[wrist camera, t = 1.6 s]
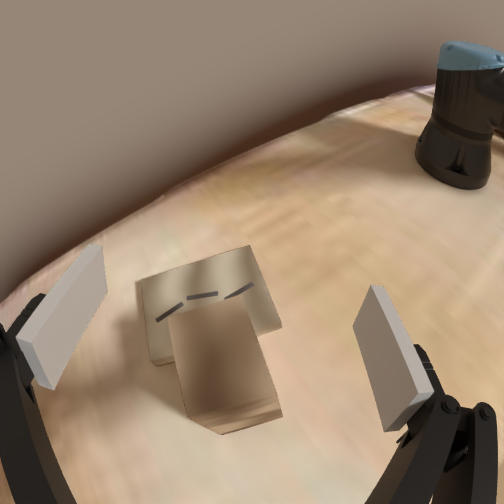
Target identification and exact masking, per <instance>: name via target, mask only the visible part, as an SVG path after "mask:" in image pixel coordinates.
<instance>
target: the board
mask: <svg viewBox="0 0 504 504" xmlns="http://www.w3.org/2000/svg"><path fill="white" fill-rule="evenodd" d="M141 284H142V295H143V305H144V314H145V323H146V331H147V339H148V346H149V353H150V360H151V362H152V363H153V364H154V365H156V366H159V365H163V364H166V363H170V362H174V361H175V358H174V353H173V348H172V342H171V337H170V331H169V325H168V320H167V317H170V316H173V315H177V314H180V313H183V312H186V311H190V310H193V309H196V308H199V307H203V306H206V305H209V304H212V303H215V302H218V301H222V300H225V299H228V298H231V297H234V296H237V295H240V294H242V296H243V299H244V302H245V305H246V308H247V311H248V314H249V316H250V319H251V322H252V325H253V328H254V331H255V334H256V336H259V335H262V334H265V333H268V332H271V331H274V330H277V329H280V328H282V325H281V320H280V317H279V315H278V313H277V310H276V308H275V305H274V303H273V300H272V298H271V296H270V293H269V291H268V288H267V286H266V283H265V281H264V278H263V276H262V274H261V271H260V269H259V266H258V264H257V261H256V259H255V257H254V254H253V252H252V249H251V247H250V245H248V246H245V247H241V248H238V249H235V250H232V251H229V252H226V253H223V254H220V255H216V256H213V257H210V258H207V259H204V260H201V261H198V262H195V263H192V264H189V265H185V266H182V267H179V268H176V269H173V270H170V271H167V272H164V273H161V274H158V275H155V276H152V277H148V278H145V279H142V280H141Z"/></svg>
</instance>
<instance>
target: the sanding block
mask: <svg viewBox="0 0 504 504" xmlns="http://www.w3.org/2000/svg"><path fill="white" fill-rule="evenodd" d="M167 320H168V325H169V331H170V337H171V342H172V348H173V353H174V358H175V363H176V368H177V373H178V378H179V383H180V387H181V392H182V396H183V401H184V405H185V409H186V413H187V417H188V418H190V419H192V420H193V421H195V422H197V423H199V424H201V425H203V426H205V427H207V428H208V429H210V430H212V431H214V432H216V433H218V434H220V435H224V434H228V433H231V432H235V431H239V430H242V429H246V428H249V427H252V426H256V425H259V424H262V423H265V422H269V421H272V420H275V419H278V418H281V417H283V415H282V411H281V407H280V403H279V400H278V396H277V392H276V389H275V386H274V384H273V381H272V378H271V375H270V373H269V370H268V367H267V364H266V362H265V359H264V356H263V353H262V350H261V348H260V345H259V342H258V339H257V336H256V334H255V331H254V328H253V325H252V322H251V319H250V316H249V314H248V311H247V308H246V305H245V302H244V299H243V296H242V294H240V295H237V296H234V297H231V298H228V299H225V300H222V301H218V302H215V303H212V304H209V305H206V306H203V307H199V308H196V309H193V310H190V311H186V312H183V313H180V314H177V315H173V316H170V317H167Z"/></svg>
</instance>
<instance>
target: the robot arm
mask: <svg viewBox="0 0 504 504" xmlns="http://www.w3.org/2000/svg"><path fill="white" fill-rule="evenodd" d="M437 68H438V70H437V79H436V87H435V95H434V101H433V108H432V114H431V118H430V119H429V121H428V123H427V125H426V126H425V128H424V130H423V132H422V134H421V135H420V137H419V138H418V141H417V145H416V150H415V156H416V159H417V161H418V162H419V164H420V165H421V166H422V167H423V168H424V169H425V170H426V171H427V172H428V173H429V174H431V175H432V176H434V177H435V178H437V179H439V180H440V181H442V182H444V183H447V184H449V185H452V186H455V187H458V188H463V189H479V188H481V187H483V186H485V185H486V183H487V181H488V178H489V176H490V173H491V139H492V135H493V132H494V129H497V130H499V131H502V132H503V133H504V53H503V52H501V51H498V50H495V49H493V48H490V47H487V46H483V45H479V44H475V43H469V42H463V41H447V42H445V43H443V44H442V46H441V48H440V54H439V61H438V63H437ZM107 292H108V291H107V283H106V275H105V266H104V256H103V246H98V245H92V244H89V245H88V246H87V247H86V248H85V249H84V250H83V252H82V253H81V254H80V255H79V256H78V257H77V258H76V260H75V261H74V262H73V263H72V264H71V265H70V267H69V268H68V269H67V270H66V271H65V273H64V274H63V275H62V276H61V278H60V279H59V280H58V281H57V282H56V284H55V285H54V286H53V287H52V289H51V290H50V291H49V293H48V294H47V295H46V294H42V293H40V294H39V295H37V296H36V297H34V298H33V299H31V301H30V302H29V303H28V304H27V306H26V307H25V309H23V311H22V312H21V315H19V316H18V317H17V319H16V320H15V321H14V323H13V324H12V325H11V327H10V328H9V330H8V331H7V332H5V330H4V328H3V325H2V324H1V323H0V458H1V462H2V465H3V469H4V472H5V475H6V478H7V481H8V484H9V487H10V490H11V493H12V496H13V499H14V501H15V504H77V503H76V501H75V499H74V497H73V495H72V493H71V491H70V489H69V487H68V484H67V482H66V480H65V478H64V476H63V473H62V471H61V469H60V466H59V464H58V462H57V459H56V457H55V454H54V452H53V449H52V446H51V444H50V441H49V438H48V435H47V433H46V430H45V427H44V424H43V421H42V417H41V414H40V411H39V408H38V404H37V401H36V397H35V394H34V390H33V387H32V385H31V381H32V379H33V377H35V379H36V381H37V383H38V384H39V385H40V386H43V387H45V388H48V389H51V390H53V391H54V389H55V387H56V385H57V383H58V381H59V379H60V377H61V375H62V373H63V371H64V369H65V367H66V365H67V363H68V361H69V359H70V357H71V356H72V354H73V352H74V350H75V348H76V346H77V344H78V342H79V341H80V339H81V337H82V335H83V333H84V332H85V330H86V328H87V326H88V324H89V323H90V321H91V319H92V317H93V316H94V314H95V312H96V311H97V309H98V307H99V305H100V304H101V302H102V300H103V299H104V297H105V295H106V294H107ZM353 329H354V332H355V335H356V338H357V341H358V344H359V348H360V351H361V354H362V357H363V360H364V364H365V367H366V370H367V373H368V377H369V380H370V383H371V387H372V390H373V394H374V397H375V401H376V404H377V408H378V412H379V415H380V419H381V423H382V426H383V430H384V432H390V431H398V430H400V429H401V428H402V427H403V426H404V425H405V424H406V423H407V426H408V430H407V431H406V432H405V433H404V434H403V435H402V436H401V437H400V438H399V439H398V440H397V442H396V443H399V442H400V441H401V442H400V444H399V446H398V448H397V450H396V452H395V454H394V455H393V457H392V459H391V461H390V463H389V464H388V466H387V468H386V470H385V472H384V473H383V475H382V477H381V478H380V480H379V482H378V483H377V485H376V487H375V488H374V490H373V491H372V493H371V494H370V496H369V498H368V499H367V501H366V502H365V504H429V502H430V500H431V498H432V495H433V498H432V503H431V504H496V495H497V477H498V440H497V421H496V414H495V411H494V410H493V408H492V407H491V406H490V405H489V404H487V403H485V402H480V403H478V404H477V405H476V406H475V407H474V408H473V409H470V408H465V407H460V404H459V403H458V401H457V400H456V399H455V398H454V397H452V396H450V395H445V393H444V390H443V388H442V386H441V384H440V381H439V379H438V377H437V375H436V373H435V371H434V370H433V366H432V364H431V363H430V360H429V358H428V356H427V354H426V352H425V351H424V350H423V349H422V348H421V346H420V345H419V344H413V343H412V341H411V339H410V337H409V335H408V333H407V331H406V329H405V327H404V325H403V323H402V321H401V319H400V317H399V315H398V313H397V311H396V309H395V307H394V305H393V303H392V301H391V299H390V297H389V295H388V293H387V292H386V290H385V288H384V286H376V285H370V288H369V290H368V292H367V295H366V297H365V299H364V302H363V304H362V306H361V308H360V311H359V313H358V315H357V317H356V319H355V322H354V324H353ZM467 448H468V449H467Z"/></svg>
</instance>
